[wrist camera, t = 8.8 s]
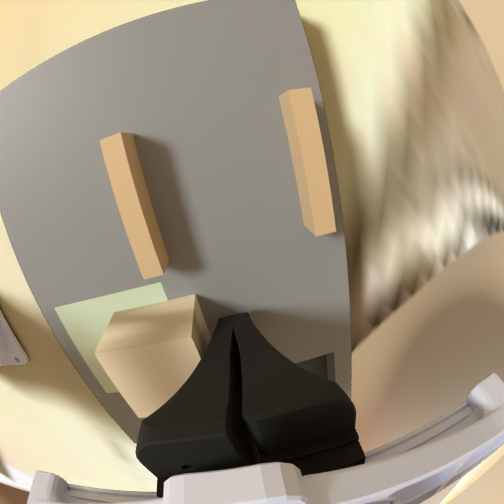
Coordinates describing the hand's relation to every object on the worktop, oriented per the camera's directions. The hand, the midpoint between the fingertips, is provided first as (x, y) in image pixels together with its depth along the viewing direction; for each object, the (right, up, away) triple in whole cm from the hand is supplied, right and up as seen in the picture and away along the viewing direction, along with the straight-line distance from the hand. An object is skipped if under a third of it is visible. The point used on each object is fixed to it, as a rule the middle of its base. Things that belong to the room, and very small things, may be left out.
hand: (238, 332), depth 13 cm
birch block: (-3, -1, 0) cm, 3 cm away
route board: (-3, +3, +1) cm, 4 cm away
